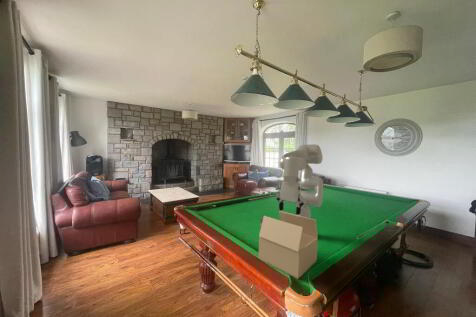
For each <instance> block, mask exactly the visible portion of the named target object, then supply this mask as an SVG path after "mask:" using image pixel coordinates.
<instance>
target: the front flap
mask: <svg viewBox="0 0 476 317" xmlns="http://www.w3.org/2000/svg"><path fill="white" fill-rule="evenodd" d="M262 218H263V222H262V226H261V230H260V229H259V235H258V236H260V237H262V238H265V239H267V240H270V241H272V242H275V243H277V244H280V245H282V246H285V247H287V248H290V249H292V250H295V251H297V252H299V247H300V241H301V236H302V230H303V227H301V226H297V225H294V224H290V223H287V222H284V221H280V219H276V218H274V217H272V218H271V217H270V216H266V215H264V216H263V217H262Z"/></svg>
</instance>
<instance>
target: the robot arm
mask: <svg viewBox="0 0 476 317" xmlns="http://www.w3.org/2000/svg"><path fill="white" fill-rule="evenodd" d="M322 162H323V152H322V149H321V147H320V145H319V144H301V145H299V146H298V147H297V148H296V150H292V151H290V152H289V151H288V152H287V153H284V154H283V155H282V156H281V158H280V160H279V167H280V168H281V169H282V170H283V181H282V182H281V187H280V191H279V192H277V193H275V198H276V200H277V202H278V212H279V211H283V210H284V204H285V203H284V202H290V203H295V205H296V208H295V215H298V216H302V217H306V218H310V219H311V209H310V207H309V206H312V207H321V206H322V205H323V196H324V195H323V193H324V181H323V179H322V178H321V177H318V176H313V173H314V171H313V168H312V167H311V166H310V165H309V164H313V165H319V164H322ZM302 189H303V190H302Z"/></svg>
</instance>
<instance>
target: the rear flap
mask: <svg viewBox="0 0 476 317" xmlns="http://www.w3.org/2000/svg"><path fill="white" fill-rule="evenodd" d="M278 214H279V220H280V221H284V222H287V223H290V224H294V225H297V226H301V227H303V230H302V233H303V234H306V235H309V236H312V237H315V238H319V237H318V228H317V219H314V218H311V217H310V218H306V217H302V216H298V215H296V214H294V213H289V212H286V211H283V210H281V211H279V210H278Z"/></svg>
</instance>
